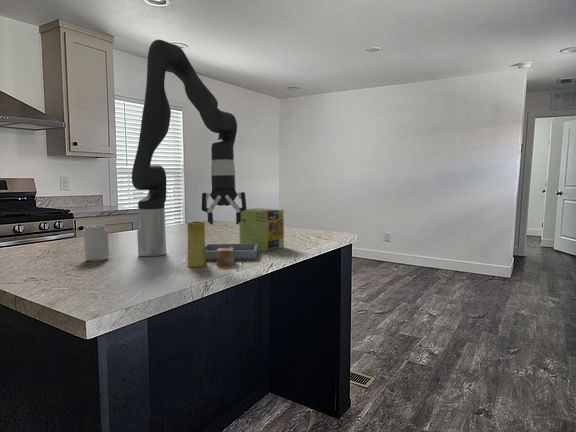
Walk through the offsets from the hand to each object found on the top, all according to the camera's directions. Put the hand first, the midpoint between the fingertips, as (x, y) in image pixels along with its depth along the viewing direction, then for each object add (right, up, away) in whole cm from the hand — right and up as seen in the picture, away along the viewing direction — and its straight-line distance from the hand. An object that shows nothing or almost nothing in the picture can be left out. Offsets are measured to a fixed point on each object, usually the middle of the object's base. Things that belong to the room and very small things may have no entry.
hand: (224, 224), depth 127 cm
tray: (0, -12, +14) cm, 18 cm away
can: (-46, -13, +10) cm, 49 cm away
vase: (-9, -14, 0) cm, 16 cm away
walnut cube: (0, -13, +2) cm, 13 cm away
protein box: (+10, -10, +31) cm, 34 cm away
